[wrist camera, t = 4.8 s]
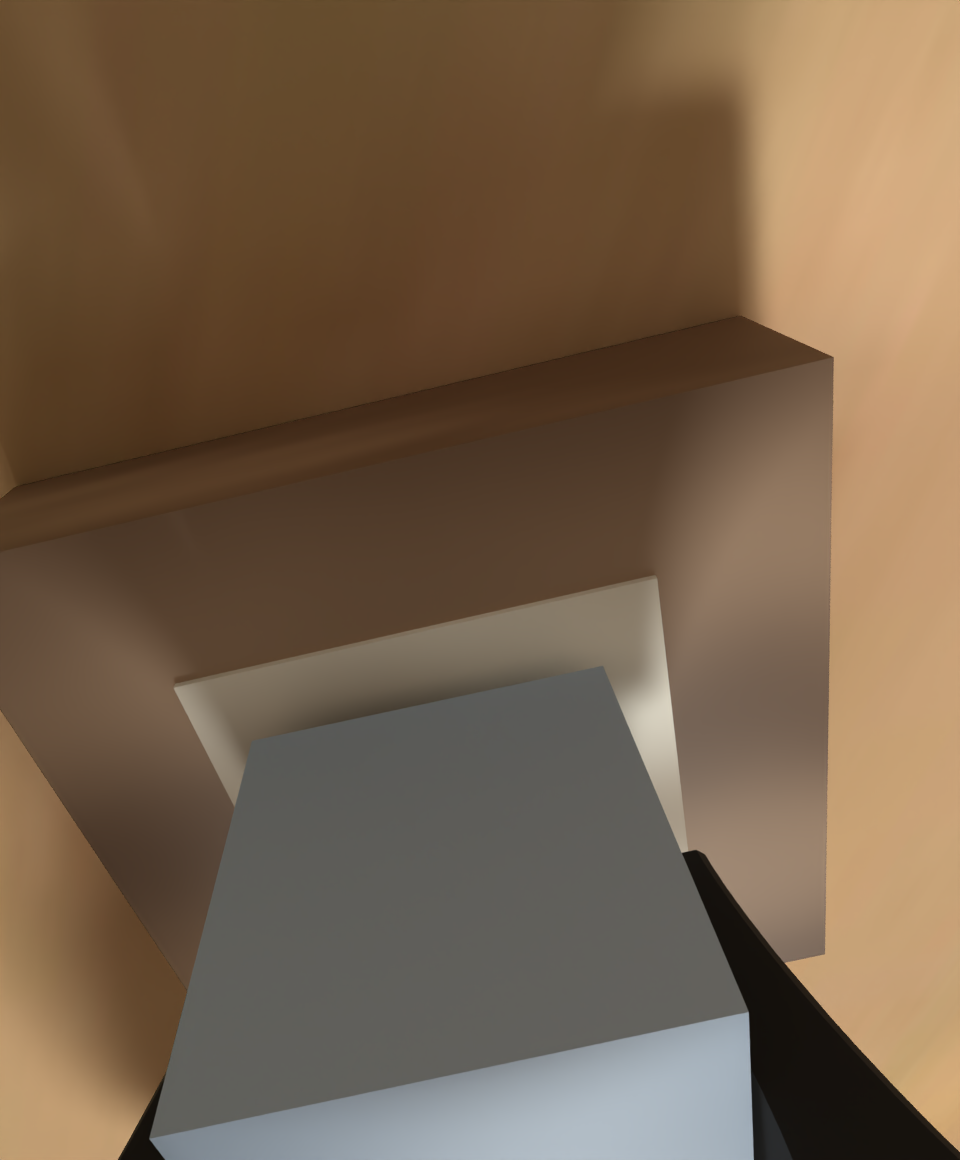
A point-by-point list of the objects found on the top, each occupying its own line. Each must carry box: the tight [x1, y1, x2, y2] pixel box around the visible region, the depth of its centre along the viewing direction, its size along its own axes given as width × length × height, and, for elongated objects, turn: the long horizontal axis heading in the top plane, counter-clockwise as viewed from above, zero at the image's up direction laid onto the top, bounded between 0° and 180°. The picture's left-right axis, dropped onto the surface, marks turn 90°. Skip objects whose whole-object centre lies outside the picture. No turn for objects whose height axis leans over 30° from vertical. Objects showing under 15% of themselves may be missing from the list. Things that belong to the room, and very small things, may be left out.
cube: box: [149, 666, 754, 1160], centre depth 10 cm, size 5×5×5 cm
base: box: [0, 316, 834, 991], centre depth 14 cm, size 12×12×3 cm
